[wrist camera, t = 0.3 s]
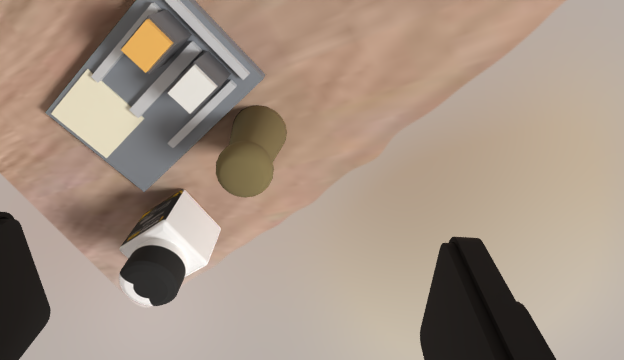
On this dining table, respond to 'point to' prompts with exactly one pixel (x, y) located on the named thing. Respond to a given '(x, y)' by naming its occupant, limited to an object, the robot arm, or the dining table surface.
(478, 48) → the dining table surface
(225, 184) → the cork
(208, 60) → the toggle plain
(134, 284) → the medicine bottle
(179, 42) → the block
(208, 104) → the panel
